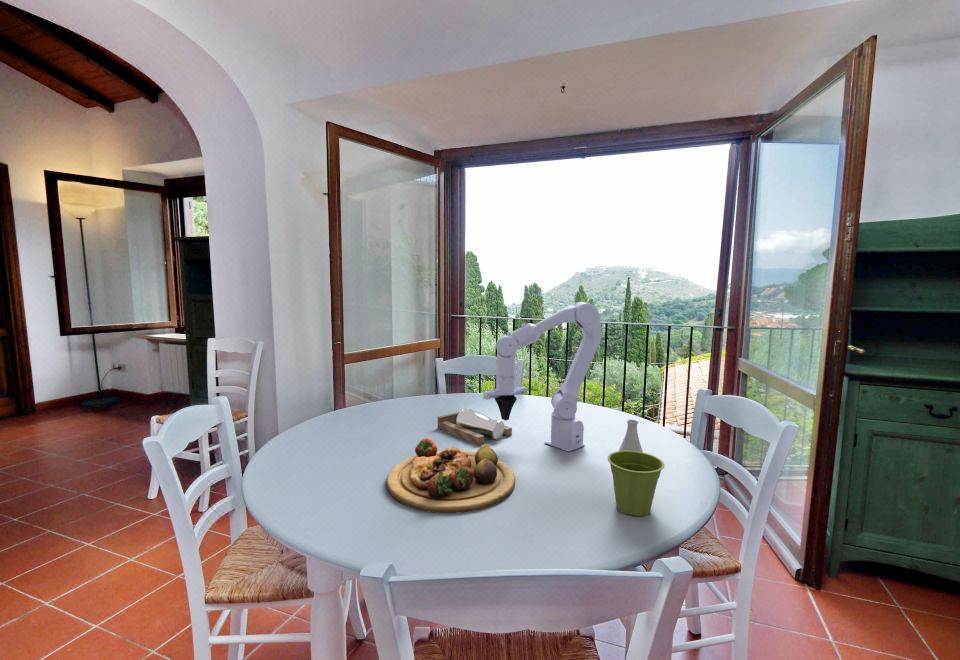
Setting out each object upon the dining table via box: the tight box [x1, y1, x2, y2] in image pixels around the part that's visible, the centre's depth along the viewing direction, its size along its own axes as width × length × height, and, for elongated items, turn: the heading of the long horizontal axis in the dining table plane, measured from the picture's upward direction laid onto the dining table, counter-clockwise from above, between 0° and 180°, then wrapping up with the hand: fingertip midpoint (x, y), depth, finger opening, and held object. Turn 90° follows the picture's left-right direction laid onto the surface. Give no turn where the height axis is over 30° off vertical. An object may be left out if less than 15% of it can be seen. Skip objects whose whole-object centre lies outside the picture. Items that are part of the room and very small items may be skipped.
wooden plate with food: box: [385, 437, 516, 514], centre depth 116 cm, size 32×32×8 cm
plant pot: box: [607, 450, 665, 517], centre depth 103 cm, size 12×12×11 cm
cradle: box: [437, 409, 513, 446], centre depth 154 cm, size 21×14×4 cm
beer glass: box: [456, 408, 506, 441], centre depth 151 cm, size 7×7×15 cm
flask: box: [618, 419, 644, 453], centre depth 135 cm, size 7×7×10 cm
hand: (505, 419), depth 143 cm, fingers closed
